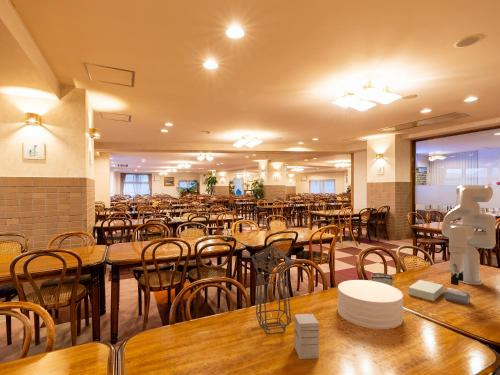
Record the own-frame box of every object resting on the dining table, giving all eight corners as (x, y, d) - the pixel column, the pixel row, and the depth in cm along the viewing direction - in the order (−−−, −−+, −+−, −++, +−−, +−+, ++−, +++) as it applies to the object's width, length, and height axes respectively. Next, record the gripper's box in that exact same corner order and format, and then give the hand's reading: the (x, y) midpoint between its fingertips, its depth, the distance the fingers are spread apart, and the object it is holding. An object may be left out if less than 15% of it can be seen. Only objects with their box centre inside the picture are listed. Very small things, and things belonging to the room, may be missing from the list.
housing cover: (448, 290, 155) (448, 287, 155) (468, 295, 148) (468, 292, 148) (446, 291, 153) (446, 289, 153) (466, 296, 146) (466, 293, 146)
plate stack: (410, 313, 136) (410, 289, 136) (390, 336, 115) (391, 308, 115) (352, 297, 155) (352, 276, 155) (327, 314, 135) (327, 290, 134)
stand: (419, 286, 171) (419, 279, 171) (443, 292, 162) (443, 285, 162) (408, 294, 159) (408, 287, 159) (433, 301, 150) (433, 293, 150)
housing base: (447, 296, 156) (447, 289, 156) (469, 302, 149) (470, 294, 149) (444, 299, 153) (444, 291, 153) (467, 305, 145) (467, 297, 145)
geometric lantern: (296, 336, 115) (295, 249, 114) (258, 341, 113) (256, 252, 111) (285, 317, 131) (284, 241, 129) (251, 321, 128) (249, 243, 127)
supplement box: (293, 347, 108) (293, 313, 107) (313, 346, 108) (313, 313, 108) (298, 359, 100) (298, 323, 100) (319, 358, 101) (319, 322, 101)
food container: (389, 290, 165) (389, 273, 164) (393, 294, 158) (394, 276, 158) (367, 289, 166) (367, 272, 166) (370, 293, 160) (370, 275, 159)
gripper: (453, 246, 159) (452, 277, 159) (444, 250, 147) (443, 284, 147) (470, 248, 153) (469, 280, 153) (462, 253, 141) (461, 288, 142)
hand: (457, 282), depth 150 cm, fingers open, 9 cm apart
